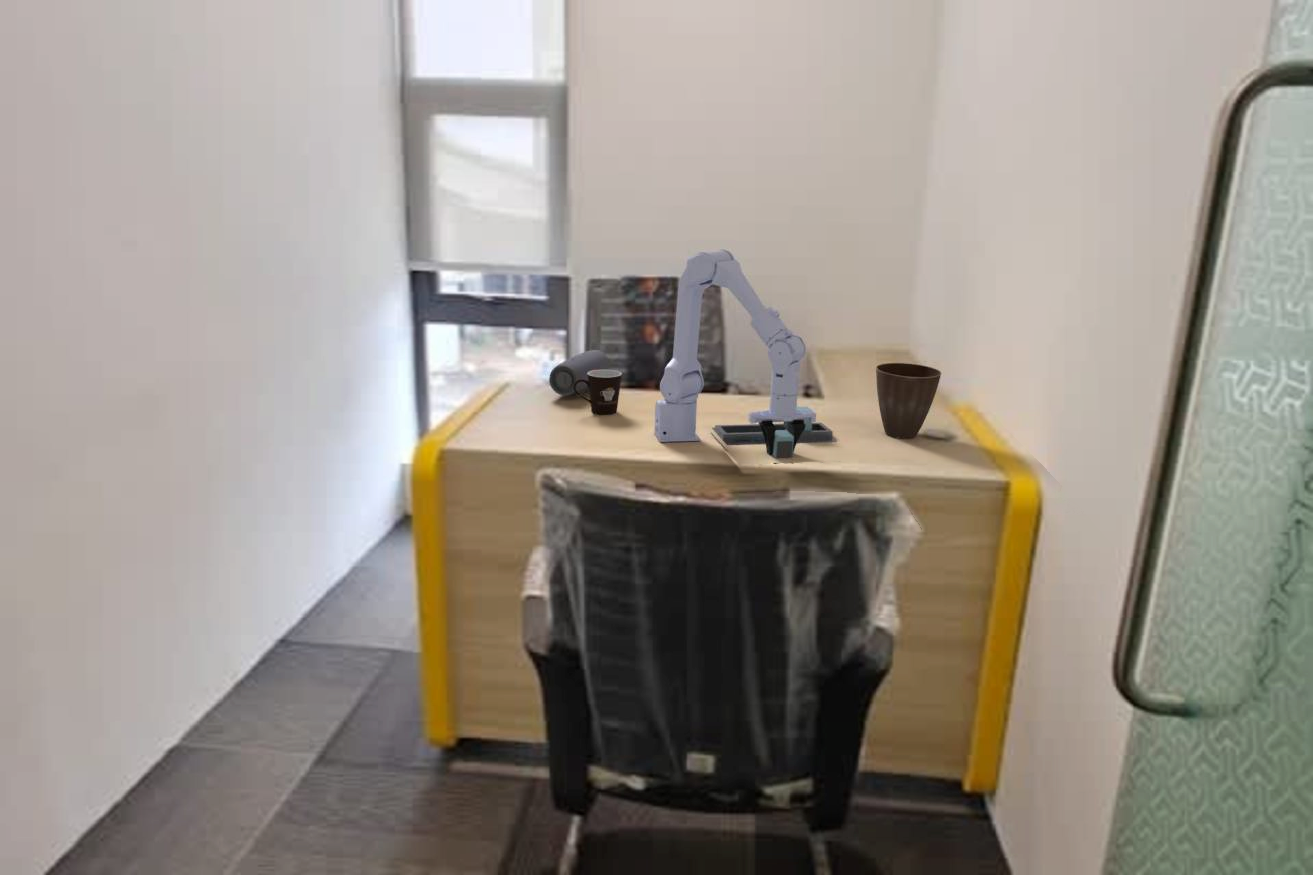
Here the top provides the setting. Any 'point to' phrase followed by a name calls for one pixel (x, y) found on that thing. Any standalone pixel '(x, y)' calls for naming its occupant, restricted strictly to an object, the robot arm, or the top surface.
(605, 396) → the coffee mug
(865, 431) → the top surface
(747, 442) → the rail
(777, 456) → the lidded storage box
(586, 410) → the top surface
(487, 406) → the top surface
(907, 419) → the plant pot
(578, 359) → the bluetooth speaker
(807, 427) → the light blue block
